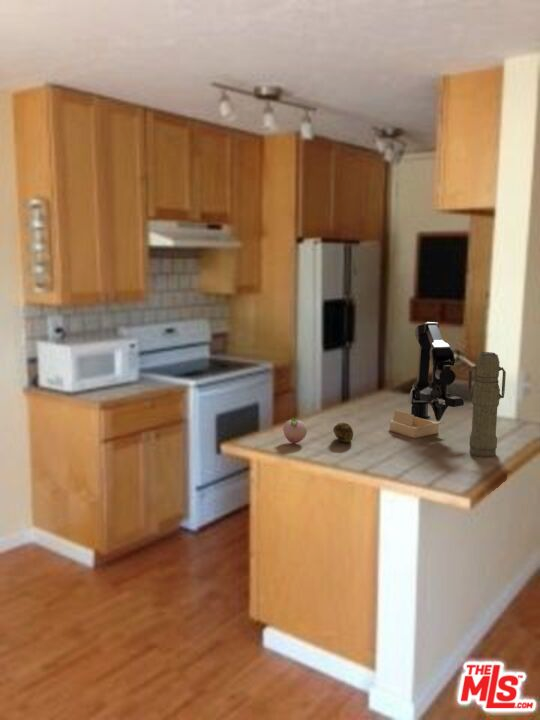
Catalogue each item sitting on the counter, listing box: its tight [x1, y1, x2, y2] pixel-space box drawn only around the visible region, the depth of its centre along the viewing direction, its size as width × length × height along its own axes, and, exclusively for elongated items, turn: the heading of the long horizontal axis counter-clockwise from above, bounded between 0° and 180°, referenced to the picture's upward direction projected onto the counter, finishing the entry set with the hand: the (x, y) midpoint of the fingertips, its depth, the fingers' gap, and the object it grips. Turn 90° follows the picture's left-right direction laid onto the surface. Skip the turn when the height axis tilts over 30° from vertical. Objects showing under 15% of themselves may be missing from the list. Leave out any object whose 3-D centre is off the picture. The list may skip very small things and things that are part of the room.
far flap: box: [392, 409, 414, 426], centre depth 255 cm, size 1×10×4 cm, turn 35°
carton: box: [389, 417, 440, 439], centre depth 260 cm, size 14×14×4 cm
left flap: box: [418, 421, 445, 427], centre depth 252 cm, size 10×1×4 cm
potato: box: [332, 422, 354, 443], centre depth 244 cm, size 8×13×8 cm, turn 158°
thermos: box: [467, 351, 507, 458], centre depth 229 cm, size 9×12×35 cm
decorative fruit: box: [282, 416, 308, 445], centre depth 242 cm, size 9×8×10 cm
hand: (438, 420), depth 251 cm, fingers closed
